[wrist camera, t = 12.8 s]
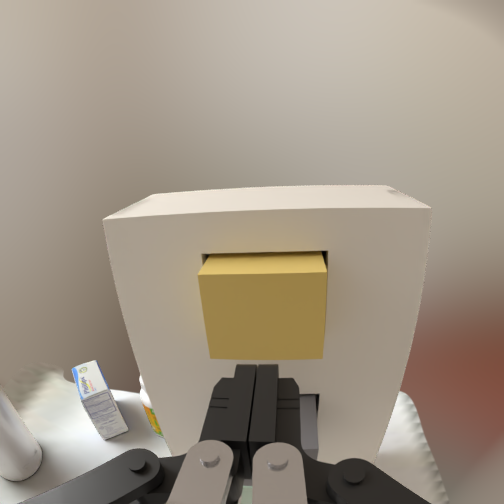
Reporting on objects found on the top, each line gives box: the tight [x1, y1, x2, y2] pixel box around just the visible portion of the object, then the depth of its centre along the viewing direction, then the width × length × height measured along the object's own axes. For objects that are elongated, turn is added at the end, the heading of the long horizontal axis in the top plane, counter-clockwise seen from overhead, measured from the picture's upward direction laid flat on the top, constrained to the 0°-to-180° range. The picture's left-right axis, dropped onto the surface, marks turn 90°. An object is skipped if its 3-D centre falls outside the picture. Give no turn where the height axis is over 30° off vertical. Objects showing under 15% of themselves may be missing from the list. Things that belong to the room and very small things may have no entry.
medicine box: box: [72, 360, 129, 440], centre depth 38 cm, size 8×4×9 cm, turn 37°
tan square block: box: [198, 251, 327, 360], centre depth 19 cm, size 6×6×5 cm
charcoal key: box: [243, 394, 319, 486], centre depth 20 cm, size 6×6×5 cm
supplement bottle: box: [140, 376, 164, 438], centre depth 38 cm, size 5×5×10 cm
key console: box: [102, 185, 432, 464], centre depth 25 cm, size 18×8×32 cm, turn 85°
